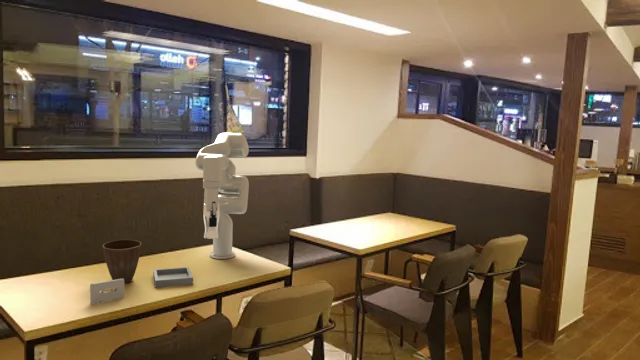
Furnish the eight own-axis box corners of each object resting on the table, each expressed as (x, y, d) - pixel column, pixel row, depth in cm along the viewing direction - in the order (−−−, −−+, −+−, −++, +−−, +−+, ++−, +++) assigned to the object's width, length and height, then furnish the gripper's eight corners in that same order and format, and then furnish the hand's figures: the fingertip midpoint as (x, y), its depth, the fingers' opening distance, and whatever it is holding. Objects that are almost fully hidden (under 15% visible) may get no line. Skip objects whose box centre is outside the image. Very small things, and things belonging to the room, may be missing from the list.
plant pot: (127, 289, 193) (127, 250, 191) (95, 284, 196) (94, 246, 194) (148, 277, 207) (148, 241, 205) (117, 273, 210) (117, 238, 208)
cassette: (123, 297, 185) (123, 277, 184) (124, 298, 183) (124, 279, 182) (89, 303, 177) (89, 283, 176) (91, 305, 176) (90, 284, 175)
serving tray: (153, 276, 209) (153, 269, 209) (188, 273, 215) (188, 266, 215) (155, 287, 196) (155, 280, 195) (192, 284, 201) (193, 277, 201)
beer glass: (210, 240, 205) (210, 205, 203) (199, 237, 209) (200, 203, 207) (222, 237, 211) (223, 203, 209) (211, 234, 215) (212, 201, 213)
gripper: (200, 181, 213) (199, 220, 216) (206, 187, 198) (205, 229, 200) (216, 181, 216) (216, 220, 219) (224, 187, 201) (223, 228, 203)
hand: (211, 224), depth 209 cm, fingers closed on beer glass, 6 cm apart
